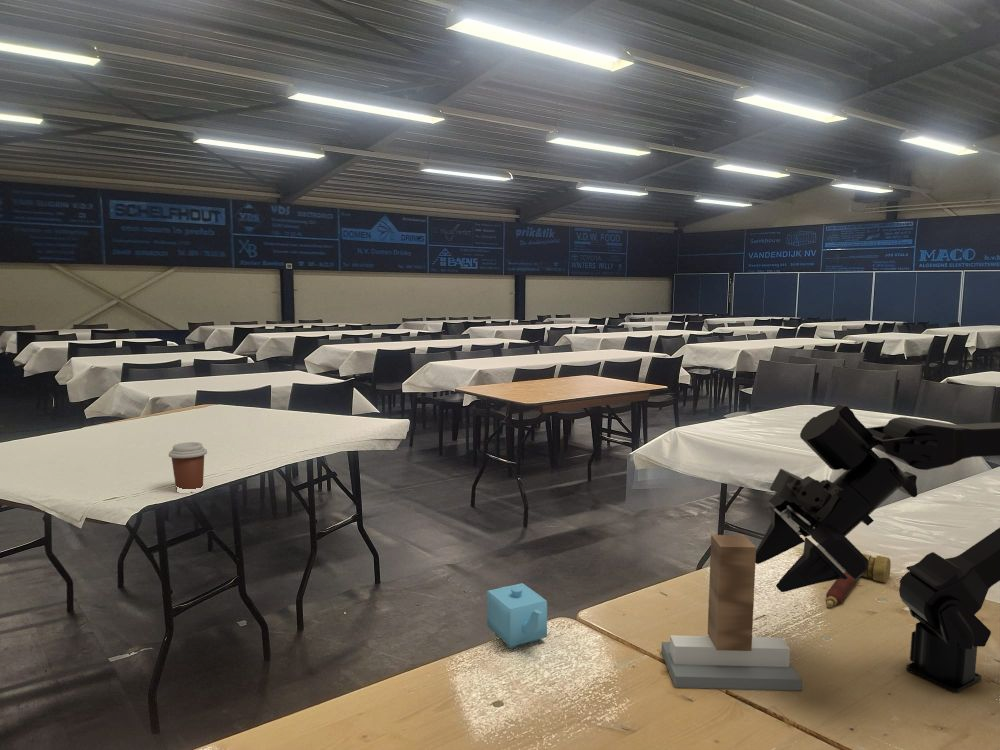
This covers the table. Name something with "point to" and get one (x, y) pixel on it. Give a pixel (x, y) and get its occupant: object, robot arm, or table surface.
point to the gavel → (840, 588)
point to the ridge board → (730, 664)
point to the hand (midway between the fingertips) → (765, 574)
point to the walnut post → (731, 592)
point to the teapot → (516, 614)
